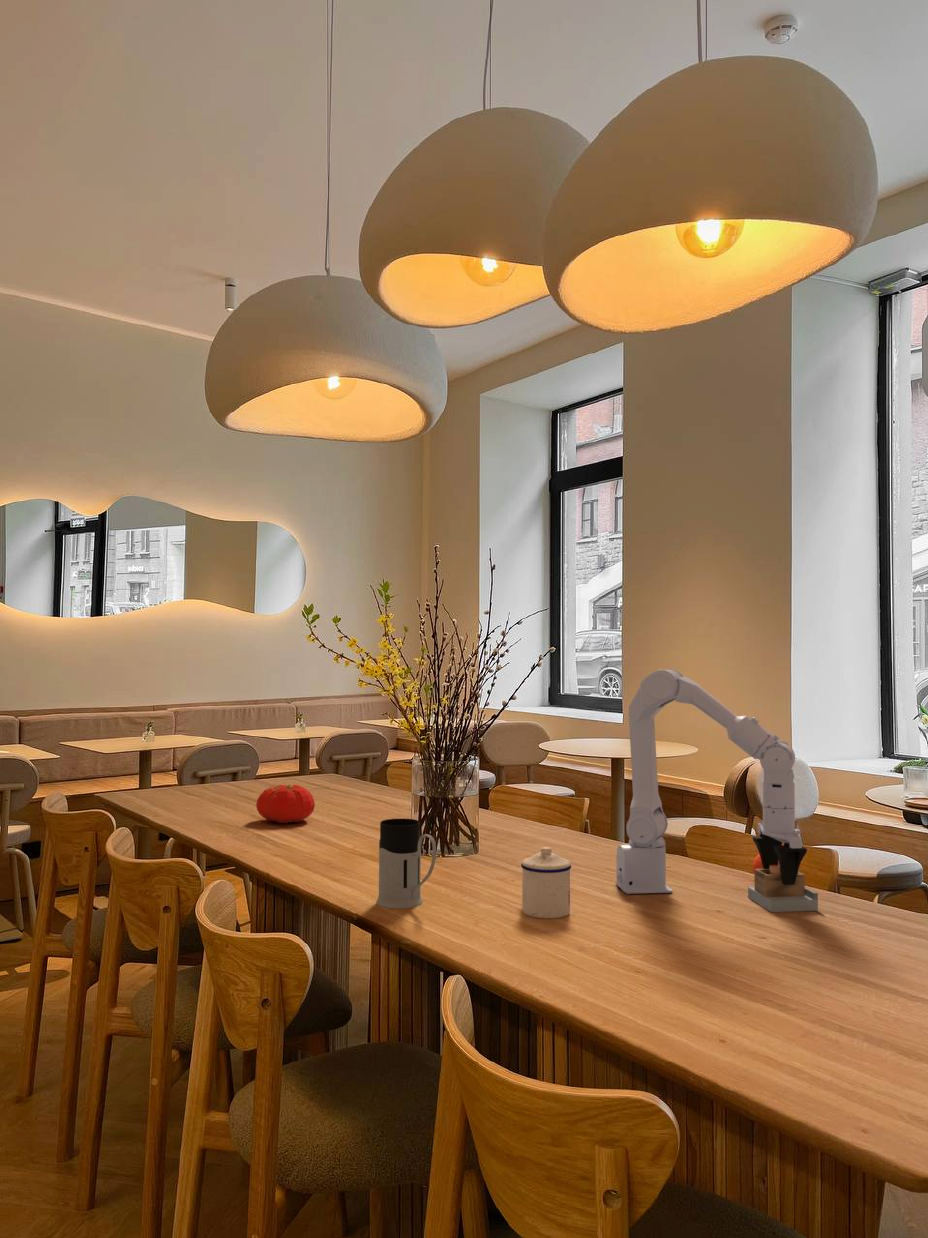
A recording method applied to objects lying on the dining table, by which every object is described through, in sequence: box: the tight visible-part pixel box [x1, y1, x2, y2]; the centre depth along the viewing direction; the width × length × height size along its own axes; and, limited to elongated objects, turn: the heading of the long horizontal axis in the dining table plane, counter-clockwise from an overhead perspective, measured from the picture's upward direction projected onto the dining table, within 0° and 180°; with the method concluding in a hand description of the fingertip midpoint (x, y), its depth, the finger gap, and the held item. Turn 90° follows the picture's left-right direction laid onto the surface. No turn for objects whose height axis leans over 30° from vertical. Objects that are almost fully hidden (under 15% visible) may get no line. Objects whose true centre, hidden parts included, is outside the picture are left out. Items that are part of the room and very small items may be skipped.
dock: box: [747, 886, 819, 913], centre depth 172 cm, size 9×10×3 cm
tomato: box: [255, 784, 316, 824], centre depth 254 cm, size 14×16×10 cm
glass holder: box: [375, 818, 437, 910], centre depth 171 cm, size 9×14×15 cm, turn 44°
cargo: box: [770, 865, 781, 874], centre depth 172 cm, size 3×3×2 cm
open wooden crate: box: [753, 869, 806, 897], centre depth 172 cm, size 8×5×4 cm, turn 96°
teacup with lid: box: [520, 846, 572, 920], centre depth 167 cm, size 12×9×12 cm
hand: (779, 879), depth 172 cm, fingers open, 7 cm apart
